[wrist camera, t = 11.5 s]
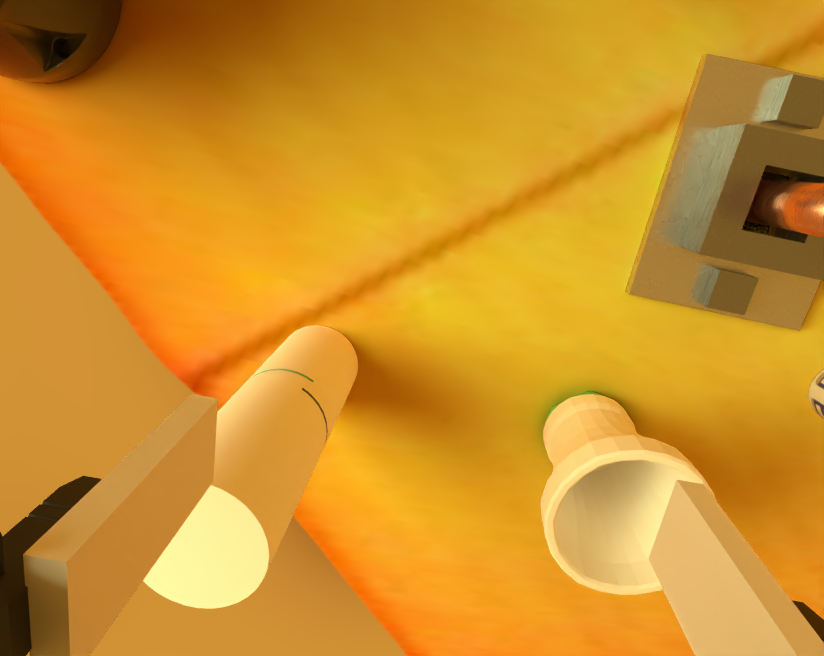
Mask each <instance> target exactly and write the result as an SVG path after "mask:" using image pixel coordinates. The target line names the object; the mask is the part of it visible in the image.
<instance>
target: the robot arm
mask: <svg viewBox="0 0 824 656" xmlns="http://www.w3.org/2000/svg"><path fill="white" fill-rule="evenodd" d="M121 1H122V0H0V76H3V77H7V78H11V79H17V80H22V81H28V82H35V83H52V82H59V81H63V80H66V79H69V78H72V77H74V76H76V75H78V74H80V73H82V72H83V71H85V70H86V69H88V68H89V67H90V66H91V65H92V64H94V63H95V62H96V61H97V59H98V58H99V57H100V56H101V55H102V54H103V52H104V51H105V49H106V48H107V46H108V44H109V43H110V41H111V39H112V37H113V34H114V32H115V29H116V26H117V23H118V20H119V15H120V9H121ZM217 409H218V399H217V398H211V397H206V396H200V395H194V394H191V395H190V396H189V397H188V398H187V399H186V400H185V401H184V402H183V403H182V404H181V405H180V406H179V407H178V408H176V409H175V411H173V412H172V413H171V414H170V415H169V416H168V417H167V418H166V419H165V420H164V421H163V422H162V423H161V424H160V425H159V426H157V427H156V428H155V429H154V430H153V431H152V432H151V433H150V434H149V435H148V436H147V437H146V438H145V439H144V440H143V441H142V442H141V443H140V444H139V445H138V446H136V447H135V448H134V449H133V450H132V451H131V452H130V453H129V454H128V455H127V456H126V457H125V458H124V459H123V460H122V461H121V462H120V463H119V464H118V465H117V466H115V467H114V468H113V469H112V470H111V471H110V472H109V473H108V474H107V475H106V476H105V477H104V478H103V479H98V478H93V477H86V476H82V477H80V478H78V479H76V480H74V481H71V482H69V483H68V484H65V485H63V486H61V487H59V488H58V489H57V490H56V491H55V492H54V493H53V494H51V495H50V496H49V497H48V498H47V499H46V500H44V501H43V504H42V505H39V506H37V507H36V508H35V509H34V510H33V511H32V512H31V513H29V516H28V517H25V518H24V519H22V520H21V521H20V522H19V523H18V524H17V525H16V526H14V527H13V528H12V529H11V530H10V531H9V532H8V533H7V534H5V535H4V536H3V537H2V534H1V533H0V656H26V655H27V654H28V652H29V651H30V656H90V654H91V653H92V652H93V650H94V649H95V647H96V646H97V644H98V643H99V642H100V640H101V639H102V638H103V636H104V635H105V633H106V632H107V631H108V629H109V627H110V626H111V625H112V624H113V622H114V621H115V619H116V618H117V616H118V615H119V613H120V612H121V611H122V609H123V608H124V607H125V605H126V604H127V602H128V601H129V600H130V598H131V597H132V595H133V594H134V593H135V591H136V590H137V588H138V586H139V585H140V584H141V583H142V581H143V580H144V578H145V577H146V576H147V574H148V573H149V571H150V570H151V569H152V567H153V566H154V564H155V563H156V562H157V560H158V559H159V557H160V556H161V555H162V553H163V552H164V550H165V549H166V547H167V546H168V545H169V543H170V542H171V540H172V539H173V538H174V536H175V535H176V533H177V532H178V531H179V529H180V528H181V526H182V525H183V524H184V522H185V521H186V519H187V518H188V516H189V515H190V514H191V512H192V511H193V509H194V508H195V507H196V505H197V504H198V502H199V501H200V500H201V498H202V497H203V495H204V494H205V493H206V491H207V490H208V488H209V487H210V485H211V484H212V483H213V477H214V460H215V443H216V426H217ZM648 559H649V561H650V564H651V566H652V568H653V570H654V572H655V574H656V576H657V578H658V580H659V582H660V584H661V586H662V588H663V590H664V593H665V595H666V597H667V599H668V601H669V603H670V605H671V607H672V609H673V611H674V613H675V615H676V617H677V619H678V621H679V624H680V626H681V628H682V630H683V632H684V634H685V636H686V638H687V640H688V642H689V644H690V646H691V648H692V650H693V653H694V655H695V656H824V620H823V619H822V618H821V617H820V616H818V615H817V614H816V613H815V612H814V611H812V610H811V609H810V608H809V607H808V606H806V605H805V604H804V603H803V602H797V601H792V600H791V599H790V598H789V596H788V595H787V594H786V592H785V591H784V590H783V588H782V587H781V586H780V584H779V583H778V582H777V580H776V579H775V578H774V576H773V575H772V574H771V573H770V571H769V570H768V569H767V567H766V566H765V565H764V563H763V562H762V561H761V559H760V558H759V557H758V555H757V554H756V553H755V551H754V550H753V549H752V547H751V546H750V545H749V543H748V542H747V541H746V539H745V538H744V537H743V535H742V534H741V533H740V532H739V530H738V529H737V528H736V526H735V525H734V524H733V522H732V521H731V520H730V518H729V517H728V516H727V514H726V513H725V512H724V510H723V509H722V508H721V506H720V505H719V504H718V502H717V501H716V500H715V498H714V497H713V496H712V494H711V493H710V492H709V491H708V489H707V488H706V487H705V485H704V484H700V483H694V482H688V481H683V480H676V483H675V486H674V488H673V491H672V494H671V497H670V500H669V502H668V505H667V508H666V511H665V514H664V516H663V519H662V522H661V525H660V528H659V530H658V533H657V536H656V539H655V542H654V544H653V547H652V550H651V553H650V556H649V558H648Z"/></svg>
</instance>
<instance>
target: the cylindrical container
mask: <svg viewBox="0 0 824 656" xmlns="http://www.w3.org/2000/svg"><path fill="white" fill-rule="evenodd" d="M357 373H358V358H357V355H356V351H355V349H354V347H353V346H352V344H351V343H350V341H349V340H348V339H347V338H346V337H345V336H344V335H343V334H341V333H340V332H338V331H336V330H334V329H332V328H329V327H326V326H320V325H311V326H307V327H303V328H301V329H299V330H297V331H295V332H294V333H292V334H291V335H290V336H289V337H288V338H287V339H286V340H285V341H284V343H283V344H282V345H281V346H280V347H279V348H278V349H277V350H276V351H275V352H274V353H273V354H272V355H271V356H270V357H269V358H268V359H267V360H266V362H265V363H264V364H263V365H262V366H261V367H260V368H259V369H258V370H257V371H256V372H255V373H254V374H253V375H252V376H251V377H250V378H249V380H248V381H247V382H246V383H245V384H244V385H243V386H242V387H241V388H240V389H239V390H238V391H237V392H236V393H235V394H234V395H233V396H232V398H231V399H230V400H229V401H228V402H227V403H226V404H225V405H224V406H223V407H222V408H221V409H220V410H219V411H218V412H217V426H216V443H215V460H214V477H213V483H212V484H211V485H210V487H209V488H208V490H207V491H206V493H205V494H204V495H203V497H202V498H201V500H200V501H199V502H198V504H197V505H196V507H195V508H194V509H193V511H192V512H191V514H190V515H189V516H188V518H187V519H186V521H185V522H184V524H183V525H182V526H181V528H180V529H179V531H178V532H177V533H176V535H175V536H174V538H173V539H172V540H171V542H170V543H169V545H168V546H167V547H166V549H165V550H164V552H163V553H162V555H161V556H160V557H159V559H158V560H157V562H156V563H155V564H154V566H153V567H152V569H151V570H150V571H149V573H148V574H147V576H146V577H145V578H144V580H143V581H144V582H145V583H146V584H147V585H148V586H149V587H151V588H152V589H153V590H154V591H156V592H157V593H159V594H160V595H162V596H164V597H166V598H167V599H169V600H172V601H174V602H177V603H180V604H182V605H187V606H191V607H196V608H219V607H226V606H229V605H232V604H234V603H238V602H239V601H241V600H243V599H245V598H246V597H248V596H249V595H250V594H251V593H253V592H254V591H255V590H256V589H257V588H258V586H259V585H260V583H261V582H262V580H263V579H264V577H265V574H266V572H267V570H268V568H269V566H270V564H271V561H272V559H273V557H274V555H275V553H276V550H277V549H278V546H279V544H280V542H281V540H282V538H283V535H284V533H285V531H286V529H287V526H288V525H289V522H290V520H291V518H292V516H293V514H294V512H295V510H296V507H297V505H298V503H299V501H300V499H301V497H302V494H303V492H304V490H305V488H306V486H307V483H308V481H309V479H310V477H311V475H312V473H313V470H314V468H315V466H316V464H317V462H318V460H319V457H320V455H321V453H322V451H323V449H324V447H325V444H326V442H327V440H328V438H329V436H330V434H331V431H332V429H333V427H334V425H335V423H336V421H337V418H338V416H339V414H340V412H341V410H342V408H343V405H344V403H345V401H346V399H347V397H348V395H349V392H350V390H351V388H352V386H353V384H354V381H355V379H356V376H357Z"/></svg>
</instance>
